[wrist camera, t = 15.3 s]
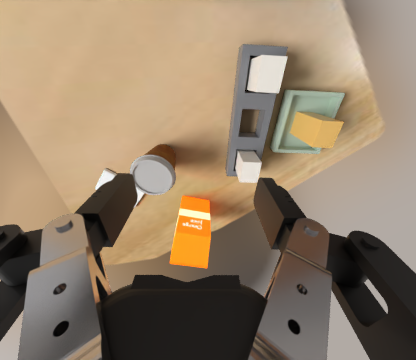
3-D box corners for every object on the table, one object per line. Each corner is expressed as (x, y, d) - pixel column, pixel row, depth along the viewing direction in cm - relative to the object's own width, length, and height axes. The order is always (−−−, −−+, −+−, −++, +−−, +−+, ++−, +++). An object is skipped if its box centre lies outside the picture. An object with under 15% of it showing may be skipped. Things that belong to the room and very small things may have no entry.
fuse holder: (239, 47, 32) (243, 44, 29) (278, 50, 32) (287, 46, 29) (225, 168, 46) (226, 176, 43) (253, 169, 47) (256, 176, 43)
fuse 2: (247, 60, 33) (262, 54, 25) (266, 62, 33) (287, 56, 25) (243, 88, 36) (255, 92, 27) (261, 89, 36) (278, 93, 28)
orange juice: (182, 195, 51) (171, 253, 34) (209, 200, 52) (212, 258, 35) (178, 213, 55) (167, 273, 38) (204, 217, 56) (203, 277, 39)
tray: (284, 89, 36) (290, 90, 33) (335, 91, 36) (345, 93, 34) (269, 147, 43) (273, 152, 41) (312, 149, 44) (318, 153, 41)
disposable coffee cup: (183, 141, 42) (176, 161, 32) (180, 173, 47) (173, 199, 37) (145, 135, 41) (125, 153, 31) (146, 168, 46) (129, 194, 36)
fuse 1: (235, 145, 43) (243, 162, 34) (250, 146, 43) (261, 162, 34) (233, 162, 45) (239, 182, 37) (247, 163, 46) (257, 182, 37)
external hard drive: (136, 204, 53) (97, 186, 49) (147, 188, 50) (106, 167, 46) (134, 208, 52) (94, 189, 48) (145, 191, 49) (103, 169, 45)
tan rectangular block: (296, 111, 38) (322, 120, 29) (313, 112, 38) (344, 122, 30) (289, 132, 41) (312, 147, 32) (305, 133, 41) (331, 148, 32)
